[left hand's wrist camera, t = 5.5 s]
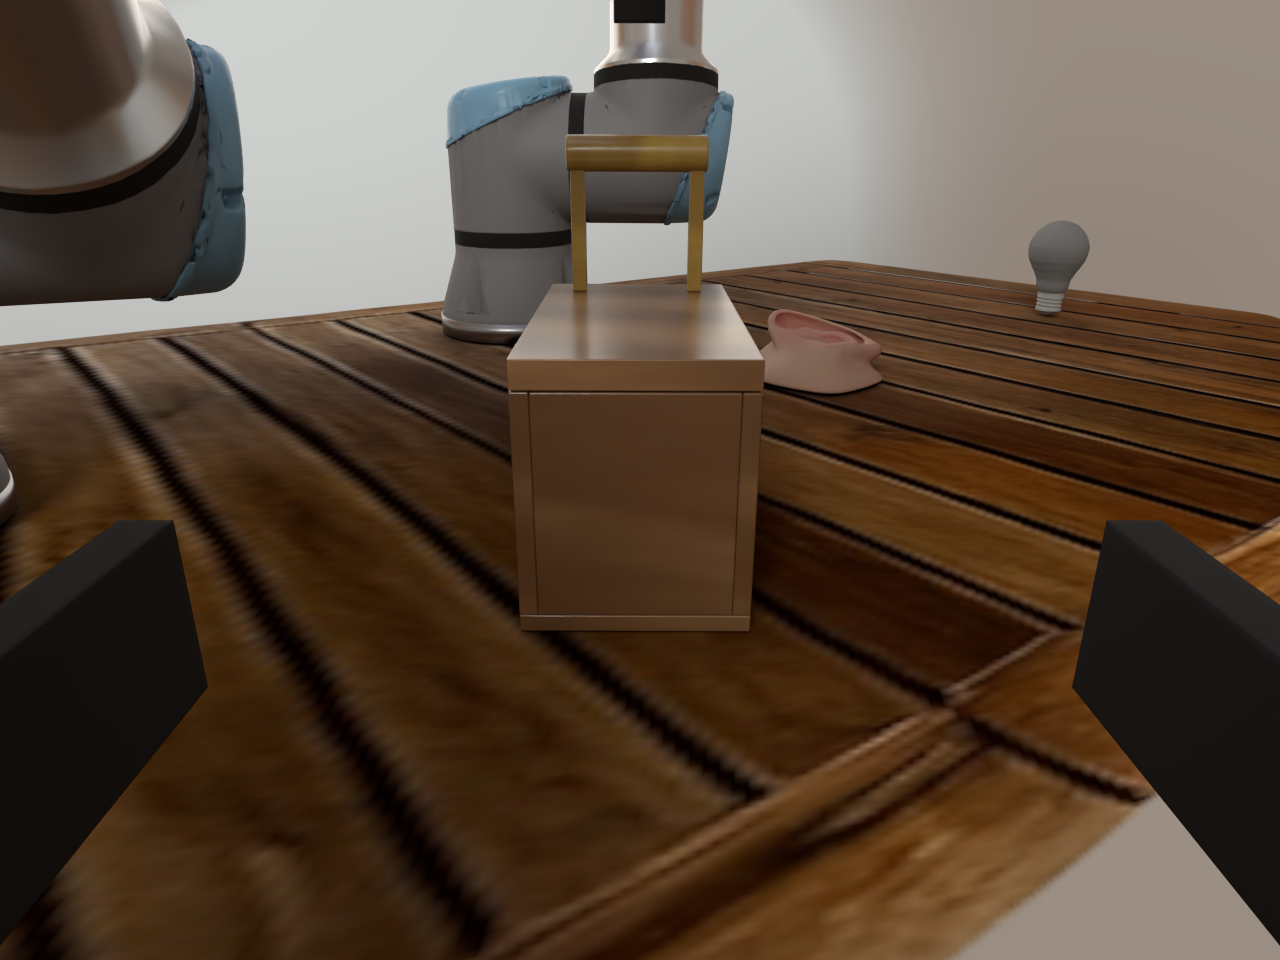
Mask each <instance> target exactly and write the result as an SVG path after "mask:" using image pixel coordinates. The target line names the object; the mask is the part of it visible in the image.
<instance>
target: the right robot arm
mask: <svg viewBox="0 0 1280 960" xmlns="http://www.w3.org/2000/svg"><path fill="white" fill-rule="evenodd" d="M703 3H704V0H610V52H609V54H608V56H607V57H606V58H605V59H604V60H603V61H602V62H601V63H600V64H599V65H598V66H597V67H596V69H595V70H594V92H591V93H570V91H572V85H571V84H570V81H569V79H568V78H567V77H566V76H543V77H528V78H519V79H511V80H504V81H497V82H491V83H486V84H481V85H476V86H471V87H468V88H465V89H462V90H460V91H458V92H456V93H455V94H454V95H453V96H452V97H451V99H450V101H449V103H448V107H447V126H448V140H447V142H446V148H447V149H448V154H449V167H450V179H451V193H452V206H453V219H454V230H455V246H456V254H455V259H454V264H453V268H452V272H451V276H450V280H449V284H448V289H447V293H446V297H445V301H444V305H443V311H442V324H443V332H444V333H445V334H447V335H449V336H451V337H454V338H457V339H461V340H467V341H473V342H483V343H503V344H516V343H517V342H518V340H519V338H520V337H521V335H522V333H523V332H524V330H525V329H526V327H527V325H528V324H529V322H530V320H531V319H532V317H533V316H534V314H535V312H536V311H537V309H538V307H539V306H540V304H541V303H542V301H543V299H544V298H545V296H546V294H547V293H548V291H549V290H550V288H551V286H552V285H553V284H573V272H572V230H571V189H570V172H569V171H568V170H567V166H566V136H567V135H707V136H708V137H709V164H708V170H707V172H705V177H704V211H703V221H704V220H706V219H707V218H709V217H710V216H711V215H712V214H713V212H714V211H715V209H716V206H717V203H718V199H719V195H720V190H721V186H722V180H723V175H724V170H725V164H726V158H727V152H728V145H729V138H730V131H731V123H732V109H733V104H734V100H733V96H732V95H731V94H728V93H726V92H725V91H721V92H720V93H718V70H717V69H716V68H715V66H714V65H713V64H712V63H711V62H710V61H709V60H708V59H707V58H706V57H705V55H704V53H703V51H702V49H703V5H704V4H703ZM689 174H690V172H585V187H586V223H588V222H589V223H664V225H669V224H671V223H684V222H688V218H689Z"/></svg>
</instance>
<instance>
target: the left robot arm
mask: <svg viewBox="0 0 1280 960" xmlns="http://www.w3.org/2000/svg"><path fill="white" fill-rule="evenodd" d="M242 192H243V158H242V147H241V136H240V127H239V119H238V112H237V105H236V98H235V93H234V87H233V82H232V78H231V74H230V70H229V67H228V64H227V62H226V60H225V58H224V57H223V56H222V55H221V54H220V53H219V52H218V51H216V50H215V49H213V48H211V47H209V46H205V45H199V44H197V43H196V42H194V41H192V40H190V39H187V40H185V38H184V36H183V34H182V32H181V30H180V27H179V25H178V23H177V22H176V21H175V19H174V18H173V17H172V15H171V14H170V12H169V11H168V10H167V8H166V7H165V6H164V5H163V4H162V3H161V2H160V1H159V0H0V306H12V305H30V304H48V303H67V302H84V301H103V300H120V299H139V298H151V299H153V300H155V301H171V300H173V299H175V298H177V297H178V296H185V295H194V294H204V293H213V292H218V291H221V290H224V289H226V288H228V287H229V286H231V285H232V284H233V283H234V282H235V281H236V279H237V278H238V277H239V275H240V273H241V270H242V267H243V262H244V255H245V239H246V219H245V204H244V198H243V195H242ZM18 501H19V500H18V495H17V492H16V488H15V485H14V481H13V477H12V474H11V472H10V470H9V469H8V466H7V464H6V462H5V460H4V458H3V456H2V455H1V453H0V525H1V524H2V523H4V522H5V521H6V520H7V519H8V518H9V517H10V516H11V515H12V514H13V513H14V511H15V510H16V508H17V506H18ZM207 688H208V685H207V680H206V676H205V671H204V666H203V661H202V656H201V652H200V647H199V642H198V637H197V632H196V627H195V623H194V618H193V613H192V608H191V603H190V599H189V594H188V589H187V584H186V579H185V575H184V570H183V565H182V560H181V555H180V550H179V546H178V541H177V536H176V531H175V526H174V522H173V520H119V521H117V522H116V523H115V524H113V525H112V526H110V527H109V528H108V529H106V530H105V531H103V532H102V533H101V534H99V535H98V536H96V537H95V538H93V539H92V540H91V541H89V542H88V543H86V544H85V545H84V546H82V547H81V548H79V549H78V550H77V551H75V552H74V553H72V554H71V555H70V556H68V557H67V558H65V559H64V560H63V561H61V562H60V563H58V564H57V565H56V566H54V567H53V568H51V569H50V570H48V571H47V572H46V573H44V574H43V575H41V576H40V577H39V578H37V579H36V580H34V581H33V582H32V583H30V584H29V585H27V586H26V587H25V588H23V589H22V590H20V591H19V592H18V593H16V594H15V595H13V596H12V597H10V598H9V599H8V600H6V601H5V602H3V603H2V604H1V605H0V945H1V944H2V943H3V941H4V940H5V939H6V938H7V936H8V935H9V934H10V933H11V931H12V930H13V929H14V928H15V926H16V925H17V924H18V923H19V921H20V920H21V919H22V918H23V916H24V915H25V914H26V913H27V911H28V910H29V909H30V908H31V907H32V905H33V904H34V903H35V902H36V900H37V899H38V898H39V897H40V895H41V894H42V893H43V892H44V890H45V889H46V888H47V887H48V885H49V884H50V883H51V882H52V880H53V879H54V878H55V877H56V875H57V874H58V873H59V872H60V870H61V869H62V868H63V867H64V865H65V864H66V863H67V862H68V861H69V859H70V858H71V857H72V856H73V854H74V853H75V852H76V851H77V849H78V848H79V847H80V846H81V844H82V843H83V842H84V841H85V839H86V838H87V837H88V836H89V834H90V833H91V832H92V831H93V829H94V828H95V827H96V826H97V824H98V823H99V822H100V821H101V819H102V818H103V817H104V816H105V815H106V813H107V812H108V811H109V810H110V808H111V807H112V806H113V805H114V803H115V802H116V801H117V800H118V798H119V797H120V796H121V795H122V793H123V792H124V791H125V790H126V788H127V787H128V786H129V785H130V783H131V782H132V781H133V780H134V778H135V777H136V776H137V775H138V773H139V772H140V771H141V770H142V769H143V767H144V766H145V765H146V764H147V762H148V761H149V760H150V759H151V757H152V756H153V755H154V754H155V752H156V751H157V750H158V749H159V747H160V746H161V745H162V744H163V742H164V741H165V740H166V739H167V737H168V736H169V735H170V734H171V732H172V731H173V730H174V729H175V727H176V726H177V725H178V724H179V723H180V721H181V720H182V719H183V718H184V716H185V715H186V714H187V713H188V711H189V710H190V709H191V708H192V706H193V705H194V704H195V703H196V701H197V700H198V699H199V698H200V696H201V695H202V694H203V693H204V691H205V690H206V689H207ZM1072 688H1073V689H1074V690H1075V691H1076V693H1077V694H1078V695H1079V696H1080V698H1081V699H1082V700H1083V701H1084V703H1085V704H1086V705H1087V706H1088V708H1089V709H1090V710H1091V711H1092V713H1093V714H1094V715H1095V716H1096V718H1097V719H1098V720H1099V721H1100V723H1101V724H1102V725H1103V726H1104V727H1105V729H1106V730H1107V731H1108V732H1109V734H1110V735H1111V736H1112V737H1113V739H1114V740H1115V741H1116V742H1117V744H1118V745H1119V746H1120V747H1121V749H1122V750H1123V751H1124V752H1125V754H1126V755H1127V756H1128V757H1129V759H1130V760H1131V761H1132V762H1133V764H1134V765H1135V766H1136V767H1137V769H1138V770H1139V771H1140V772H1141V773H1142V775H1143V776H1144V777H1145V778H1146V780H1147V781H1148V782H1149V783H1150V785H1151V786H1152V787H1153V788H1154V790H1155V791H1156V792H1157V793H1158V795H1159V796H1160V797H1161V798H1162V800H1163V801H1164V802H1165V803H1166V805H1167V806H1168V807H1169V808H1170V810H1171V811H1172V812H1173V813H1174V814H1175V816H1176V817H1177V818H1178V819H1179V821H1180V822H1181V823H1182V824H1183V826H1184V827H1185V828H1186V829H1187V831H1188V832H1189V833H1190V834H1191V836H1192V837H1193V838H1194V839H1195V841H1196V842H1197V843H1198V844H1199V846H1200V847H1201V848H1202V849H1203V851H1204V852H1205V853H1206V854H1207V856H1208V857H1209V858H1210V859H1211V860H1212V862H1213V863H1214V864H1215V865H1216V867H1217V868H1218V869H1219V870H1220V872H1221V873H1222V874H1223V875H1224V877H1225V878H1226V879H1227V880H1228V882H1229V883H1230V884H1231V885H1232V887H1233V888H1234V889H1235V890H1236V892H1237V893H1238V894H1239V895H1240V897H1241V898H1242V899H1243V900H1244V902H1245V903H1246V904H1247V905H1248V907H1249V908H1250V909H1251V910H1252V911H1253V913H1254V914H1255V915H1256V916H1257V918H1258V919H1259V920H1260V921H1261V923H1262V924H1263V925H1264V926H1265V928H1266V929H1267V930H1268V931H1269V933H1270V934H1271V935H1272V936H1273V938H1274V939H1275V940H1276V941H1277V943H1278V944H1279V945H1280V605H1279V604H1278V603H1277V602H1275V601H1274V600H1272V599H1271V598H1270V597H1268V596H1267V595H1265V594H1264V593H1262V592H1261V591H1260V590H1258V589H1257V588H1255V587H1254V586H1253V585H1251V584H1250V583H1248V582H1247V581H1246V580H1244V579H1243V578H1241V577H1240V576H1239V575H1237V574H1236V573H1234V572H1233V571H1232V570H1230V569H1229V568H1227V567H1226V566H1224V565H1223V564H1222V563H1220V562H1219V561H1217V560H1216V559H1215V558H1213V557H1212V556H1210V555H1209V554H1208V553H1206V552H1205V551H1203V550H1202V549H1201V548H1199V547H1198V546H1196V545H1195V544H1194V543H1192V542H1191V541H1189V540H1188V539H1187V538H1185V537H1184V536H1182V535H1181V534H1179V533H1178V532H1177V531H1175V530H1174V529H1172V528H1171V527H1170V526H1168V525H1167V524H1165V523H1164V522H1163V521H1161V520H1107V522H1106V526H1105V531H1104V536H1103V541H1102V546H1101V550H1100V555H1099V560H1098V565H1097V570H1096V575H1095V579H1094V584H1093V589H1092V594H1091V599H1090V603H1089V608H1088V613H1087V618H1086V623H1085V627H1084V632H1083V637H1082V642H1081V647H1080V652H1079V656H1078V661H1077V666H1076V671H1075V676H1074V680H1073V685H1072Z"/></svg>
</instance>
